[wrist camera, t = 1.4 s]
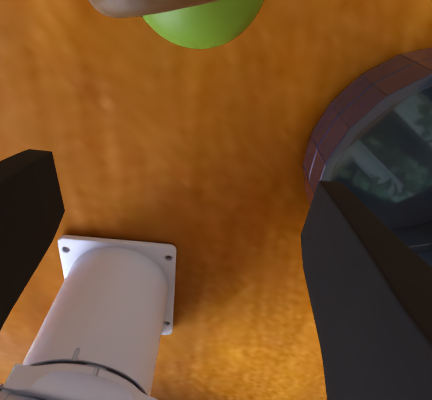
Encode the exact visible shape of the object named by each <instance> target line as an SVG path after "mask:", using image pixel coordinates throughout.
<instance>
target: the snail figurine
mask: <svg viewBox="0 0 432 400" xmlns="http://www.w3.org/2000/svg"><path fill="white" fill-rule="evenodd" d="M263 1H264V0H89V2H90V3H91V5H92V6H93V7H94V8H95V9H96V10H97V11H98V12H100V13H102V14H104V15H106V16H109V17H114V18H126V17H137V16H142V17H143V18H144V19H145V21H146V22H147V23H148V24H149V25H150V26H151V28H152V29H154V30H155V31H156V32H157V33H158V34H159V35H161V36H162V37H163V38H165V39H167V40H168V41H170V42H172V43H174V44H177V45H180V46H183V47H187V48H193V49H206V48H213V47H217V46H220V45H222V44H225V43H227V42H229V41H231V40H232V39H234V38H235V37H237V36H238V35H239V34H241V33H242V32H243V31H244V30H245V29H246V28H247V27H248V26H249V25H250V23H251V22H252V21H253V20H254V18H255V17H256V15H257V13H258V12H259V10H260V8H261V6H262V4H263Z"/></svg>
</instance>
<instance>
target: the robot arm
mask: <svg viewBox="0 0 432 400" xmlns="http://www.w3.org/2000/svg"><path fill="white" fill-rule="evenodd" d="M64 212H65V209H64V205H63V200H62V196H61V191H60V187H59V182H58V177H57V173H56V168H55V164H54V159H53V155H52V152H50V151H41V150H32V149H28V150H26V151H23V152H20V153H18V154H15V155H13V156H11V157H9V158H6V159H4V160H2V161H0V330H1V328H2V326H3V324H4V322H5V321H6V319H7V317H8V315H9V313H10V311H11V310H12V308H13V306H14V305H15V303H16V301H17V300H18V298H19V296H20V295H21V293H22V291H23V290H24V288H25V286H26V285H27V283H28V281H29V280H30V278H31V276H32V275H33V273H34V272H35V270H36V268H37V267H38V265H39V263H40V262H41V260H42V258H43V256H44V255H45V253H46V251H47V250H48V248H49V246H50V244H51V243H52V241H53V239H54V236H55V234H56V232H57V229H58V227H59V224H60V222H61V219H62V217H63V214H64ZM58 247H59V252H60V257H61V263H62V268H63V273H64V278H65V281H64V283H63V285H62V287H61V288H60V290H59V292H58V294H57V296H56V298H55V300H54V302H53V304H52V306H51V308H50V310H49V312H48V314H47V316H46V318H45V320H44V322H43V324H42V326H41V328H40V330H39V332H38V334H37V336H36V337H35V339H34V341H33V343H32V345H31V347H30V349H29V351H28V353H27V355H26V357H25V359H24V361H23V363H22V364H15V365H14V367H13V369H12V371H11V373H10V374H9V376H8V378H7V380H6V382H5V384H4V386H3V384H1V383H0V400H158V399H157V398H154V397H151V396H150V395H151V389H152V384H153V378H154V372H155V366H156V360H157V355H158V349H159V343H160V337H161V334H163V335H169V334H171V333H172V330H173V314H174V293H175V271H176V247H175V246H174V245H171V244H163V243H152V242H141V241H129V240H118V239H106V238H95V237H83V236H72V235H62V236H61V237H60V238H59V240H58ZM66 247H68V248H69V249H68V248H66ZM301 247H302V259H303V269H304V274H305V278H306V283H307V288H308V292H309V297H310V301H311V306H312V310H313V315H314V319H315V324H316V328H317V333H318V337H319V342H320V347H321V353H322V359H323V367H324V375H325V384H326V393H327V400H432V267H431V266H430V265H429V264H427V263H426V262H425V261H424V260H423V259H422V258H420V257H419V256H418V255H417V254H416V253H415V252H414V251H412V250H411V249H410V248H409V247H408V246H407V245H406V244H404V243H403V242H402V241H401V240H400V239H399V238H398V237H397V236H396V235H395V234H394V233H393V232H392V231H390V230H389V229H388V228H387V227H386V226H385V225H384V224H383V223H382V222H381V221H380V220H379V219H378V218H377V217H376V216H375V215H374V214H373V213H372V212H371V211H370V210H369V209H368V208H367V207H366V206H365V205H364V204H363V203H362V202H361V201H360V200H359V199H358V198H357V197H356V196H355V195H354V194H353V193H352V192H351V191H350V190H349V189H348V188H347V187H346V186H344V185H343V184H342V183H339V182H329V181H320V180H319V181H318V184H317V188H316V191H315V194H314V197H313V200H312V203H311V206H310V209H309V212H308V215H307V218H306V221H305V224H304V227H303V230H302V233H301ZM168 255H169V256H171V257H167V256H168Z"/></svg>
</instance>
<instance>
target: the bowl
mask: <svg viewBox="0 0 432 400" xmlns="http://www.w3.org/2000/svg"><path fill="white" fill-rule="evenodd" d="M303 176H304V186H305V193H306V196H307V199H308V202H309V205H310V206H311V203H312V200H313V197H314V194H315V191H316V188H317V184H318V181H319V180H320V181H329V182H339V183H342V184H343V185H344V186H346V187H347V188H348V189H349V190H350V191H351V192H352V193H353V194H354V195H355V196H356V197H357V198H358V199H359V200H360V201H361V202H362V203H363V204H364V205H365V206H366V207H367V208H368V209H369V210H370V211H371V212H372V213H373V214H374V215H375V216H376V217H377V218H378V219H379V220H380V221H381V222H382V223H383V224H384V225H385V226H386V227H387V228H388V229H389V230H390V231H392V232H393V233H394V234H395V235H396V236H397V237H398V238H399V239H400V240H401V241H402V242H403V243H404V244H406V245H407V246H408V247H409V248H410V249H411V250H412V251H414V252H415V253H416V254H417V255H418V256H419V257H420V258H422V259H423V260H424V261H425V262H426V263H427V264H429V265H430V266H431V267H432V48H427V49H422V50H418V51H413V52H408V53H404V54H400V55H397V56H395V57H394V58H392V59H390V60H388V61H386V62H384V63H382V64H380V65H378V66H376V67H375V68H373V69H371V70H369V71H367V72H365V73H363V74H361V75H360V76H359V77H358V78H357V79H356V80H355V81H354V82H352V83H351V84H350V85H349V86H348V87H347V88H346V89H345V90H344V91H343V92H342V93H340V94H339V95H338V96H337V97H336V98H335V99H334V100H333V101H332V102H331V104H329V106H328V107H327V109H326V111H325V112H324V114H323V115H322V117H321V119H320V120H319V122H318V123H317V125H316V127H315V128H314V130H313V131H312V133H311V136H310V139H309V142H308V146H307V150H306V154H305V158H304V162H303Z"/></svg>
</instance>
